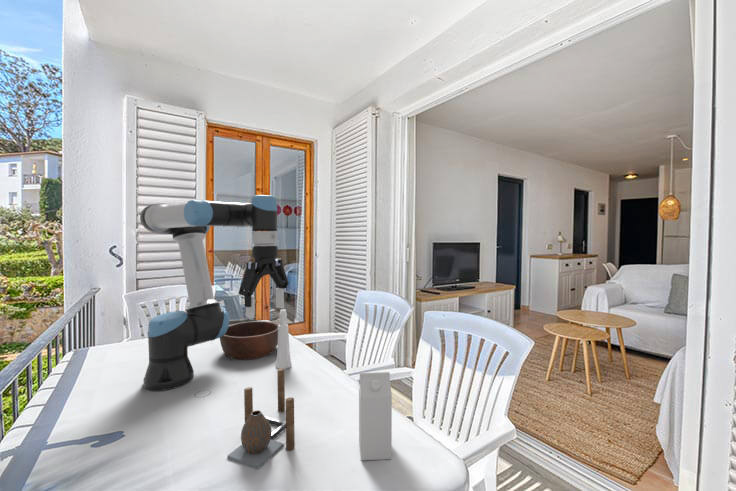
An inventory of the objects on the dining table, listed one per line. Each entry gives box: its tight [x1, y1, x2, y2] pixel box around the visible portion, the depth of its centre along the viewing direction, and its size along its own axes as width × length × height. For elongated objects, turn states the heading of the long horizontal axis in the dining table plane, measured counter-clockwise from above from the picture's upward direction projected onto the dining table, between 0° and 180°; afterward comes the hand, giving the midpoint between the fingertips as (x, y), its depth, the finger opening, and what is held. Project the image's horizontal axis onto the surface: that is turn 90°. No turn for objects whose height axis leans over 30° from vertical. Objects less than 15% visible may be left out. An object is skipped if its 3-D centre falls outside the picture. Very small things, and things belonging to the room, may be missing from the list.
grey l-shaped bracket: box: [264, 415, 286, 440], centre depth 90 cm, size 10×6×1 cm, turn 66°
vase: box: [240, 410, 273, 454], centre depth 81 cm, size 7×7×9 cm
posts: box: [243, 368, 296, 452], centre depth 91 cm, size 15×15×12 cm
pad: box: [226, 439, 284, 470], centre depth 81 cm, size 9×9×1 cm
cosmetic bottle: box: [275, 308, 293, 370], centre depth 132 cm, size 6×6×22 cm
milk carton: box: [358, 371, 393, 461], centre depth 81 cm, size 7×7×19 cm
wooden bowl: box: [219, 320, 279, 361], centre depth 148 cm, size 25×25×10 cm
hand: (266, 312), depth 108 cm, fingers open, 13 cm apart
